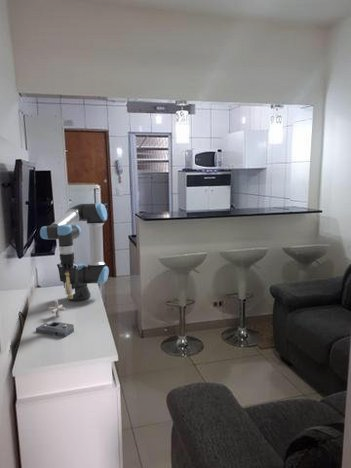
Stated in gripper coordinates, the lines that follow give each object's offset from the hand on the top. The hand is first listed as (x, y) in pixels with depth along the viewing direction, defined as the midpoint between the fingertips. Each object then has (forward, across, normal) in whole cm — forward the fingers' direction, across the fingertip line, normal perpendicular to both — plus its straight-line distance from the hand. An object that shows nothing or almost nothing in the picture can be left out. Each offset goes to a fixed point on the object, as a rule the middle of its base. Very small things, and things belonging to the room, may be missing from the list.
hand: (70, 293), depth 199 cm
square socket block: (+18, -3, -11) cm, 21 cm away
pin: (+3, 0, 0) cm, 3 cm away
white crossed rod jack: (+18, -16, +6) cm, 25 cm away
